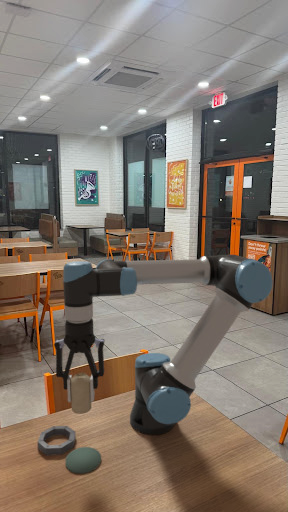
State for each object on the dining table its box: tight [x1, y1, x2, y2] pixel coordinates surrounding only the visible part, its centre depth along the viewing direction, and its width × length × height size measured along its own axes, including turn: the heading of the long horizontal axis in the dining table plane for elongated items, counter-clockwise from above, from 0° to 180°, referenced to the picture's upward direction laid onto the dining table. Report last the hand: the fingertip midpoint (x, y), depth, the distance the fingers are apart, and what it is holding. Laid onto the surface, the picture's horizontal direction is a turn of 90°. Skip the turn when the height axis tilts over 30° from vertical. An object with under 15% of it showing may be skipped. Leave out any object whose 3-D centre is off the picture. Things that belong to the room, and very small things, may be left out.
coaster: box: [65, 446, 102, 475], centre depth 102 cm, size 10×10×1 cm
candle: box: [70, 372, 92, 415], centre depth 99 cm, size 6×6×10 cm
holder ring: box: [37, 425, 77, 456], centre depth 109 cm, size 11×11×2 cm
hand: (81, 399), depth 99 cm, fingers closed on candle, 5 cm apart
